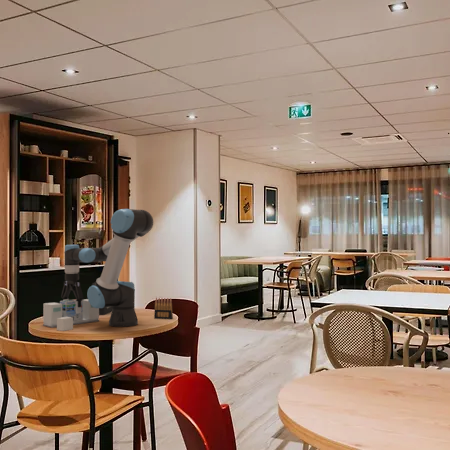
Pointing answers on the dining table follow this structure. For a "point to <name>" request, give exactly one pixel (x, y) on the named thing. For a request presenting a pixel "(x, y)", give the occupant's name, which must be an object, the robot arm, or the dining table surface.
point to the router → (104, 310)
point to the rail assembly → (55, 311)
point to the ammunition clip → (163, 309)
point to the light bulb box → (71, 309)
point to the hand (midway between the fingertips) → (72, 312)
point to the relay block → (65, 323)
